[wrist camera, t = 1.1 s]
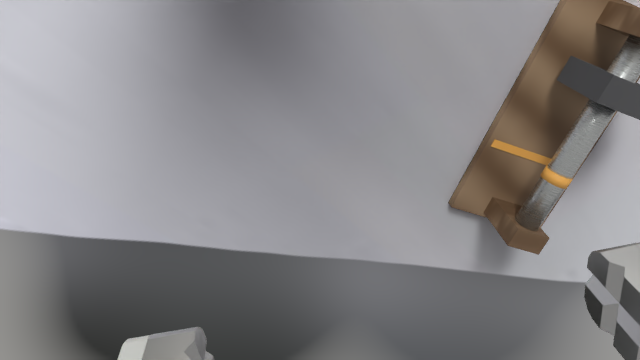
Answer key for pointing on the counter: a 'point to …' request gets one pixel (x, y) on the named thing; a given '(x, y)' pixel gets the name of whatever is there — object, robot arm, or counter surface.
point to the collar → (602, 86)
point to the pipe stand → (548, 121)
